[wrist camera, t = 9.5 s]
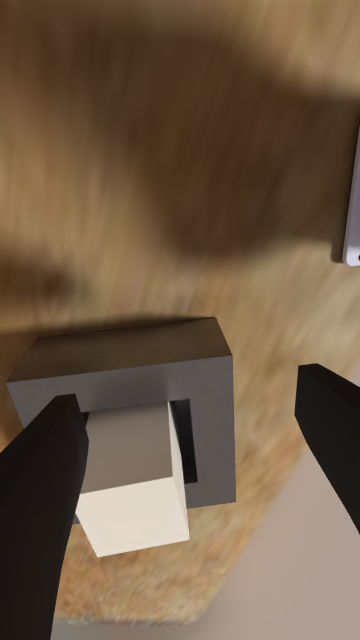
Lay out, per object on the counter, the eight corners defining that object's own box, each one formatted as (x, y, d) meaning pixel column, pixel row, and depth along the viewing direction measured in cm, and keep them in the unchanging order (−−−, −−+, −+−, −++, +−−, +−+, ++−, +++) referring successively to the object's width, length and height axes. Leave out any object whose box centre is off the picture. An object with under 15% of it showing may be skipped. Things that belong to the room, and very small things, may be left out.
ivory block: (165, 367, 20) (172, 476, 13) (177, 419, 22) (189, 539, 15) (98, 380, 20) (67, 496, 13) (115, 431, 22) (97, 557, 15)
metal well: (215, 317, 19) (232, 355, 15) (221, 446, 24) (235, 501, 20) (36, 338, 19) (5, 383, 15) (78, 465, 24) (62, 525, 20)
